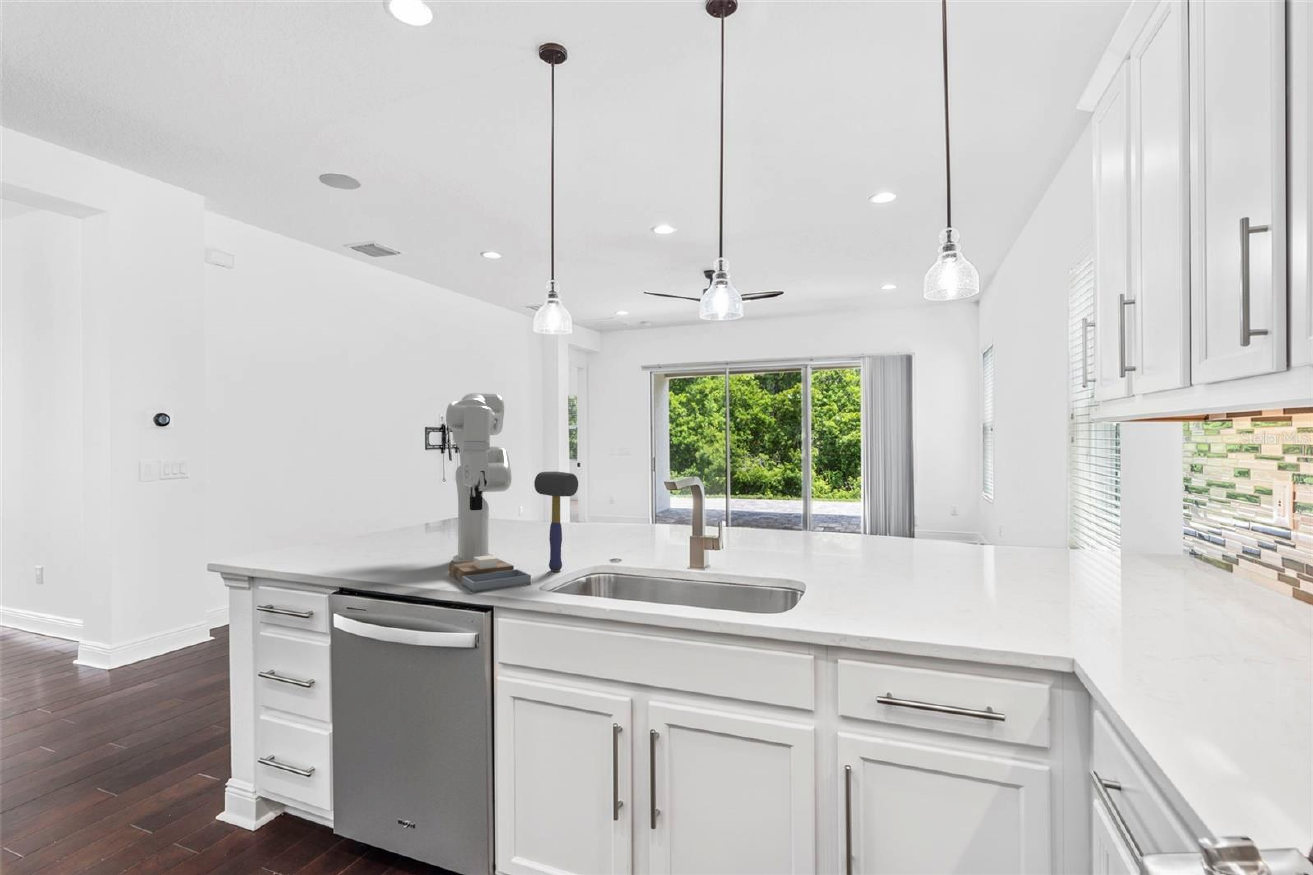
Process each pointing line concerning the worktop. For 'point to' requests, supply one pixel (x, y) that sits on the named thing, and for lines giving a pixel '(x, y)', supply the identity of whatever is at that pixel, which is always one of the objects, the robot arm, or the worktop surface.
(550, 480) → the rubber mallet
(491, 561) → the cream tile
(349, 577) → the worktop surface
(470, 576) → the tray
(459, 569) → the walnut board
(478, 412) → the robot arm
